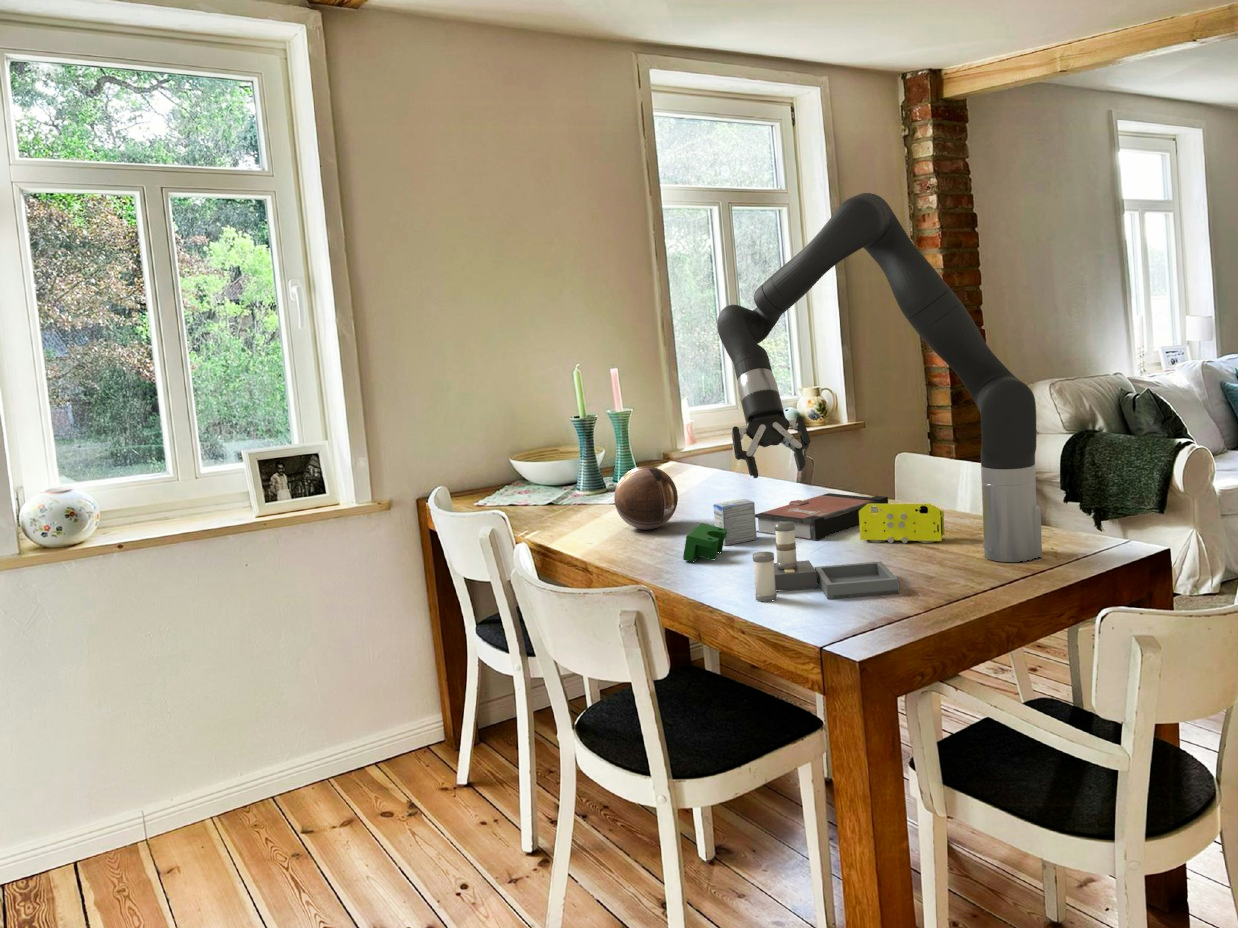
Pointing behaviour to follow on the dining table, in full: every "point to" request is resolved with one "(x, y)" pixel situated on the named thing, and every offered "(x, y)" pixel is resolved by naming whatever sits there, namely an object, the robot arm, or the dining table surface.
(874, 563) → the parts tray
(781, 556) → the ball
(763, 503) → the dining table surface
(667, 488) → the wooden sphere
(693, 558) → the clamp
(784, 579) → the block
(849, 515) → the book
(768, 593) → the fuse
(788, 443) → the robot arm
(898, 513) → the yellow toy chassis
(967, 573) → the dining table surface
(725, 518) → the medicine box
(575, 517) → the dining table surface
